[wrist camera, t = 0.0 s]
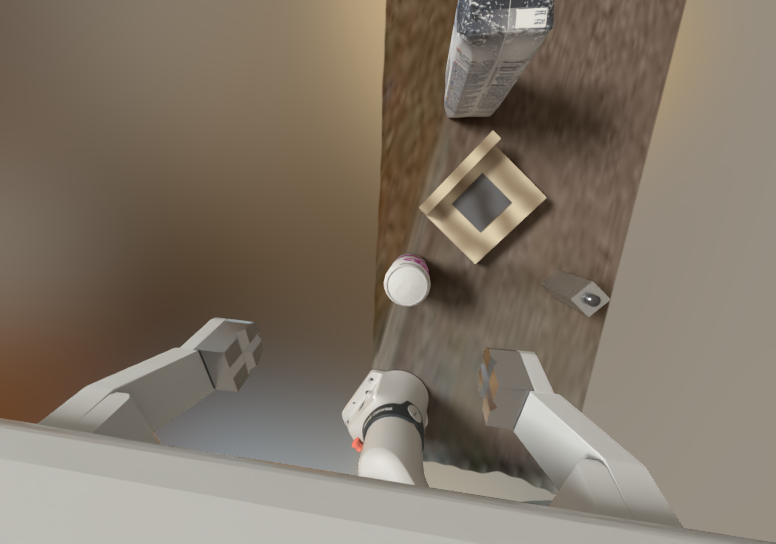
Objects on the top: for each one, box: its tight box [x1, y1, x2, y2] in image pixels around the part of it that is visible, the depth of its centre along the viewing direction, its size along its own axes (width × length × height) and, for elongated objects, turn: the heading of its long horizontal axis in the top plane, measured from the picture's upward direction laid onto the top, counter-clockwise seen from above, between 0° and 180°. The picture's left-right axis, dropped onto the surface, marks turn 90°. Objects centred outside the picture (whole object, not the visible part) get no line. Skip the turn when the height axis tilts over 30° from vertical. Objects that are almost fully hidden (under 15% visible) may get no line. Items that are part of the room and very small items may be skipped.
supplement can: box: [384, 253, 431, 307], centre depth 55 cm, size 8×8×15 cm
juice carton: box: [444, 0, 554, 118], centre depth 41 cm, size 9×10×27 cm
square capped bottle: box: [541, 270, 611, 317], centre depth 52 cm, size 4×4×13 cm
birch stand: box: [419, 131, 547, 264], centre depth 54 cm, size 18×16×8 cm
